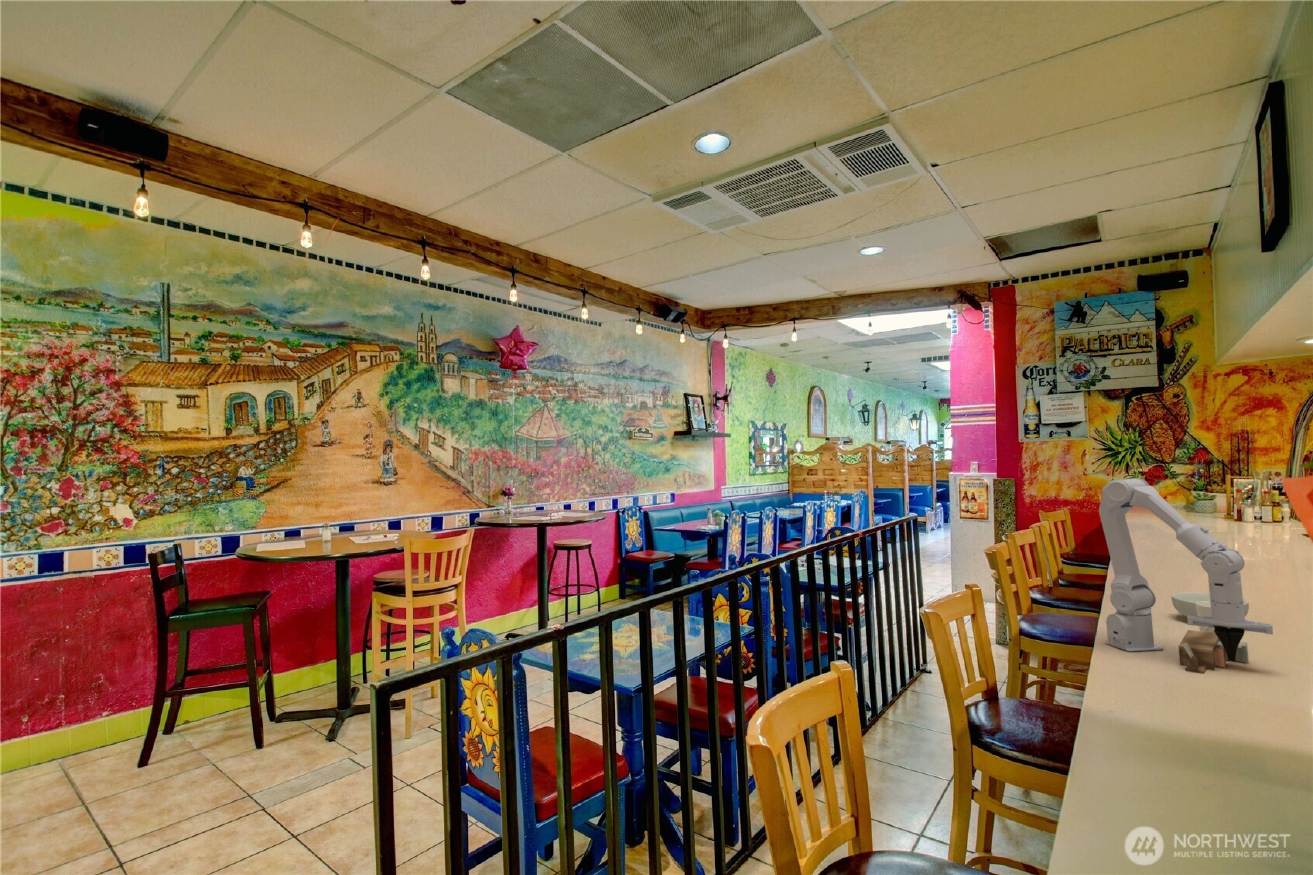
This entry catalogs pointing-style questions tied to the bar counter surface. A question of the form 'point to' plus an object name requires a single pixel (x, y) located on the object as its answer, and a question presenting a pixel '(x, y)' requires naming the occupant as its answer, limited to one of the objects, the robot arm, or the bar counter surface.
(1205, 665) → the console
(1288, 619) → the bar counter surface
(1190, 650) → the toggle lever
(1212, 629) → the white cup
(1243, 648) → the plunger grey
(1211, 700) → the bar counter surface
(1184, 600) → the cereal bowl
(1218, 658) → the flanged terracotta block
